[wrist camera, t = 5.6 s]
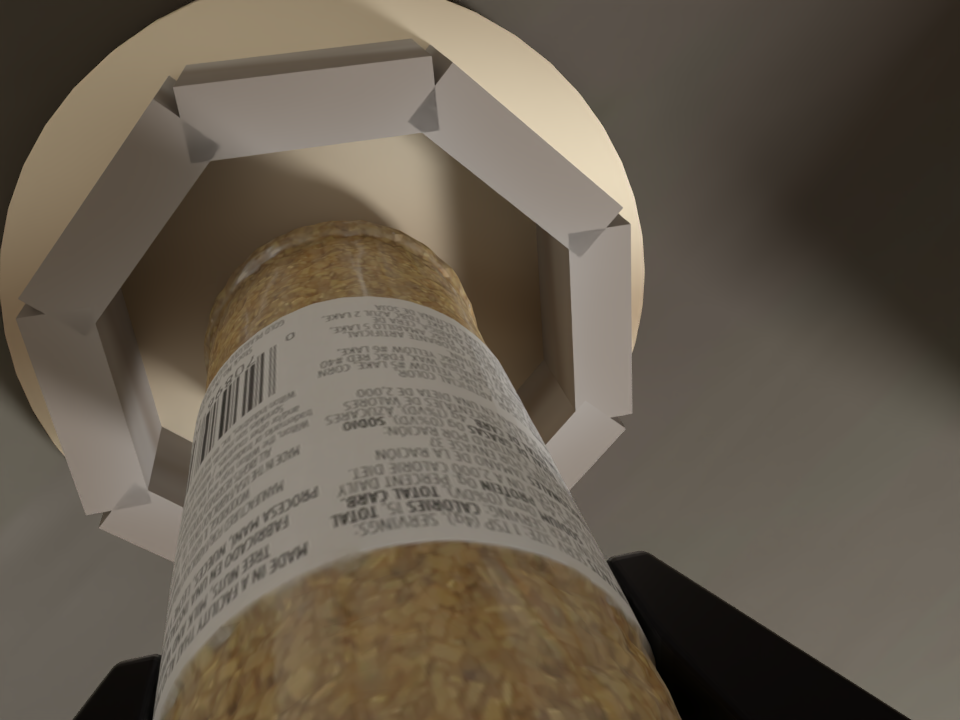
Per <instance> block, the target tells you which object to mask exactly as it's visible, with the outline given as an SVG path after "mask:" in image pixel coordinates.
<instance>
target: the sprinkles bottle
mask: <svg viewBox="0 0 960 720" xmlns="http://www.w3.org/2000/svg"><path fill="white" fill-rule="evenodd" d="M204 356H205V366H206V373H207V381H206V393H205V396H204V398H203V400H202V403H201V406H200V409H199V413H198V416H197V420H196V426H195V432H194V437H193V443H192V450H191V458H190V465H189V473H188V480H187V487H186V493H185V499H184V506H183V512H182V519H181V525H180V530H179V536H178V542H177V548H176V555H175V561H174V568H173V574H172V581H171V587H170V594H169V602H168V610H167V619H166V627H165V635H164V642H163V650H162V656H161V663H160V670H159V677H158V684H157V691H156V698H155V706H154V713H153V720H682V719H681V717H680V715H679V713H678V711H677V708H676V706H675V704H674V701H673V699H672V697H671V694H670V692H669V690H668V689H667V687H666V685H665V683H664V682H663V680H662V678H661V677H660V675H659V673H658V671H657V670H656V661H655V658H654V655H653V652H652V649H651V646H650V644H649V642H648V640H647V638H646V636H645V634H644V632H643V630H642V628H641V626H640V624H639V622H638V620H637V618H636V617H635V615H634V613H633V611H632V609H631V607H630V605H629V603H628V601H627V599H626V597H625V595H624V593H623V591H622V590H621V588H620V586H619V584H618V582H617V580H616V578H615V576H614V575H613V573H612V571H611V569H610V567H609V565H608V563H607V561H606V560H605V558H604V556H603V554H602V552H601V550H600V548H599V546H598V545H597V543H596V541H595V539H594V537H593V535H592V533H591V532H590V530H589V528H588V526H587V524H586V522H585V520H584V518H583V517H582V515H581V513H580V511H579V509H578V507H577V505H576V503H575V501H574V500H573V498H572V496H571V494H570V492H569V490H568V488H567V486H566V484H565V482H564V480H563V479H562V477H561V475H560V473H559V471H558V469H557V467H556V465H555V463H554V461H553V459H552V457H551V455H550V453H549V452H548V450H547V448H546V446H545V444H544V442H543V440H542V438H541V436H540V434H539V432H538V431H537V429H536V427H535V426H534V424H533V422H532V420H531V419H530V417H529V415H528V413H527V411H526V409H525V407H524V405H523V403H522V402H521V400H520V398H519V396H518V394H517V393H516V391H515V389H514V387H513V385H512V383H511V382H510V380H509V378H508V376H507V374H506V373H505V371H504V369H503V367H502V366H501V364H500V362H499V361H498V359H497V358H496V357H495V356H494V354H493V353H492V352H491V351H490V349H489V348H488V347H487V345H486V344H485V342H484V340H483V338H482V336H481V334H480V332H479V330H478V327H477V322H476V318H475V315H474V312H473V308H472V304H471V302H470V301H469V299H468V297H467V295H466V293H465V291H464V289H463V287H462V284H461V282H460V280H459V278H458V276H457V275H456V273H455V272H454V270H453V269H452V268H451V267H450V266H449V265H448V264H447V263H446V262H444V261H443V260H442V259H440V258H439V257H438V256H437V255H436V254H435V253H434V252H433V251H432V250H431V249H430V248H429V247H428V246H426V245H425V244H423V243H421V242H419V241H417V240H416V239H414V238H412V237H410V236H409V235H407V234H405V233H404V232H402V231H400V230H397V229H393V228H390V227H387V226H382V225H378V224H374V223H371V222H367V221H364V220H354V221H328V222H322V223H318V224H315V225H310V226H303V227H300V228H297V229H294V230H292V231H290V232H288V233H287V234H284V235H281V236H279V237H276V238H274V239H272V240H271V241H269V242H267V243H266V244H264V245H262V246H261V247H259V248H257V249H256V250H255V251H254V252H253V253H252V254H251V255H249V257H248V258H247V260H246V261H245V262H244V263H243V264H241V265H240V266H239V267H238V268H237V269H236V270H235V271H234V272H233V273H232V275H231V276H230V278H229V280H228V282H227V284H226V286H225V287H224V288H223V290H222V291H221V292H220V293H219V294H218V296H217V297H216V299H215V302H214V305H213V307H212V310H211V312H210V316H209V323H208V327H207V331H206V335H205V341H204Z"/></svg>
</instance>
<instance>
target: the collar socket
mask: <svg viewBox="0 0 960 720" xmlns="http://www.w3.org/2000/svg"><path fill="white" fill-rule="evenodd" d="M354 220H364V221H367V222H371V223H374V224H378V225H382V226H387V227H390V228H393V229H397V230H400V231H402V232H404V233H405V234H407V235H409V236H410V237H412V238H414V239H416V240H417V241H419V242H421V243H423V244H425V245H426V246H428V247H429V248H430V249H431V250H432V251H433V252H434V253H435V254H436V255H437V256H438V257H439V258H440V259H442V260H443V261H444V262H446V263H447V264H448V265H449V266H450V267H451V268H452V269H453V270H454V272H455V273H456V275H457V276H458V278H459V280H460V282H461V284H462V287H463V289H464V291H465V293H466V295H467V297H468V299H469V301H470V302H471V304H472V308H473V312H474V315H475V318H476V322H477V327H478V330H479V332H480V334H481V336H482V338H483V340H484V342H485V344H486V345H487V347H488V348H489V349H490V351H491V352H492V353H493V354H494V356H495V357H496V358H497V359H498V361H499V362H500V364H501V366H502V367H503V369H504V371H505V373H506V374H507V376H508V378H509V380H510V382H511V383H512V385H513V387H514V389H515V391H516V393H517V394H518V396H519V398H520V400H521V402H522V403H523V405H524V407H525V409H526V411H527V413H528V415H529V417H530V419H531V420H532V422H533V424H534V426H535V427H536V429H537V431H538V432H539V434H540V436H541V438H542V440H543V442H544V444H545V446H546V448H547V450H548V452H549V453H550V455H551V457H552V459H553V461H554V463H555V465H556V467H557V469H558V471H559V473H560V475H561V477H562V479H563V480H564V482H565V484H566V486H567V488H568V490H570V489H571V488H572V487H573V486H574V485H575V484H576V483H577V481H578V480H579V479H580V478H581V477H582V476H583V475H584V474H585V473H586V472H587V471H588V469H589V468H590V467H591V466H592V465H593V464H594V463H595V462H596V461H597V460H598V459H599V457H600V456H601V455H602V454H603V453H604V452H605V451H606V450H607V449H608V448H609V447H610V445H611V444H612V443H613V442H614V441H615V440H616V439H617V438H618V437H619V436H620V435H621V433H622V432H623V431H624V430H625V429H626V428H625V427H624V425H623V424H622V422H621V421H620V420H619V418H618V417H617V416H622V415H627V414H632V351H633V348H634V345H635V342H636V337H637V332H638V327H639V322H640V316H641V311H642V304H643V289H644V274H645V270H644V255H643V240H642V232H641V227H640V222H639V217H638V212H637V207H636V203H635V198H634V195H633V192H632V189H631V187H630V184H629V181H628V178H627V175H626V173H625V170H624V167H623V164H622V162H621V160H620V158H619V156H618V154H617V152H616V150H615V148H614V146H613V144H612V142H611V140H610V139H609V137H608V135H607V133H606V131H605V129H604V127H603V126H602V124H601V123H600V121H599V120H598V119H597V117H596V116H595V114H594V113H593V112H592V110H591V109H590V107H589V106H588V105H587V103H586V102H585V100H584V99H583V98H582V96H581V95H580V94H579V92H578V91H577V90H576V89H575V88H574V87H573V86H572V85H571V84H570V83H569V82H568V81H567V80H566V79H565V78H564V77H563V76H562V75H561V74H560V73H559V72H558V70H557V69H556V68H555V67H554V66H553V65H552V64H551V63H550V62H549V61H547V60H546V59H545V58H543V57H542V56H541V55H540V54H538V53H537V52H536V51H535V50H533V49H532V48H531V47H529V46H528V45H527V44H526V43H524V42H523V41H522V40H521V39H519V38H518V37H517V36H515V35H514V34H512V33H510V32H509V31H507V30H505V29H503V28H502V27H500V26H498V25H497V24H495V23H493V22H491V21H490V20H488V19H486V18H484V17H483V16H481V15H479V14H478V13H476V12H473V11H471V10H469V9H467V8H465V7H462V6H460V5H457V4H455V3H452V2H450V1H448V0H195V1H193V2H191V3H189V4H187V5H185V6H183V7H181V8H179V9H177V10H175V11H173V12H171V13H169V14H167V15H165V16H163V17H161V18H159V19H157V20H155V21H154V22H153V23H151V24H150V25H148V26H147V27H146V28H144V29H143V30H141V31H140V32H138V33H137V34H136V35H134V36H133V37H131V38H130V39H128V40H127V41H126V42H124V43H123V44H121V45H120V46H119V47H117V48H116V49H115V50H114V51H112V52H111V53H110V54H109V55H108V56H107V57H106V58H105V59H103V60H102V61H101V62H100V63H99V64H98V65H97V66H96V67H95V68H94V69H93V70H92V71H91V72H90V73H89V74H88V75H87V76H86V77H85V78H84V79H83V80H82V81H81V82H79V83H78V84H77V85H76V86H75V87H74V88H73V90H72V91H71V92H70V94H69V95H68V96H67V97H66V99H65V100H64V101H63V103H62V104H61V105H60V107H59V108H58V109H57V111H56V112H55V113H54V114H53V116H52V117H51V118H50V120H49V121H48V122H47V124H46V125H45V127H44V128H43V130H42V132H41V134H40V136H39V138H38V139H37V141H36V143H35V145H34V147H33V149H32V151H31V152H30V154H29V156H28V158H27V160H26V162H25V163H24V165H23V168H22V171H21V174H20V176H19V179H18V182H17V185H16V188H15V191H14V193H13V196H12V199H11V202H10V205H9V208H8V213H7V218H6V224H5V229H4V235H3V240H2V245H1V253H0V301H1V308H2V316H3V324H4V332H5V337H6V340H7V344H8V347H9V350H10V354H11V357H12V361H13V364H14V368H15V371H16V374H17V377H18V379H19V381H20V383H21V385H22V388H23V390H24V392H25V394H26V396H27V399H28V401H29V403H30V405H31V407H32V410H33V411H34V413H35V415H36V416H37V418H38V419H39V421H40V422H41V424H42V426H43V427H44V429H45V430H46V432H47V433H48V435H49V437H50V438H51V440H52V441H53V443H54V444H55V445H56V447H57V448H58V449H59V450H60V451H61V452H62V454H63V455H64V456H65V458H66V461H67V463H68V466H69V469H70V472H71V475H72V477H73V480H74V483H75V486H76V489H77V491H78V494H79V497H80V500H81V502H82V505H83V508H84V511H85V514H86V515H91V514H96V513H101V512H103V515H102V519H101V522H100V526H99V528H100V529H102V530H104V531H106V532H108V533H111V534H113V535H115V536H117V537H119V538H122V539H124V540H126V541H128V542H130V543H133V544H135V545H137V546H139V547H141V548H144V549H146V550H148V551H150V552H152V553H154V554H157V555H159V556H161V557H163V558H165V559H168V560H170V561H172V562H174V561H175V555H176V548H177V542H178V536H179V530H180V525H181V519H182V512H183V506H184V499H185V493H186V487H187V480H188V473H189V465H190V458H191V450H192V443H193V437H194V432H195V426H196V420H197V416H198V413H199V409H200V406H201V403H202V400H203V398H204V396H205V393H206V381H207V373H206V366H205V356H204V341H205V335H206V331H207V327H208V323H209V316H210V312H211V310H212V307H213V305H214V302H215V299H216V297H217V296H218V294H219V293H220V292H221V291H222V290H223V288H224V287H225V286H226V284H227V282H228V280H229V278H230V276H231V275H232V273H233V272H234V271H235V270H236V269H237V268H238V267H239V266H240V265H241V264H243V263H244V262H245V261H246V260H247V258H248V257H249V255H251V254H252V253H253V252H254V251H255V250H256V249H257V248H259V247H261V246H262V245H264V244H266V243H267V242H269V241H271V240H272V239H274V238H276V237H279V236H281V235H284V234H287V233H288V232H290V231H292V230H294V229H297V228H300V227H303V226H310V225H315V224H318V223H322V222H328V221H354Z"/></svg>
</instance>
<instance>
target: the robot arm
mask: <svg viewBox="0 0 960 720" xmlns="http://www.w3.org/2000/svg"><path fill="white" fill-rule="evenodd" d="M607 563H608V565H609V567H610V569H611V571H612V573H613V575H614V576H615V578H616V580H617V582H618V584H619V586H620V588H621V590H622V591H623V593H624V595H625V597H626V599H627V601H628V603H629V605H630V607H631V609H632V611H633V613H634V615H635V617H636V618H637V620H638V622H639V624H640V626H641V628H642V630H643V632H644V634H645V636H646V638H647V640H648V642H649V644H650V646H651V649H652V652H653V655H654V658H655V661H656V670H657V671H658V673H659V675H660V677H661V678H662V680H663V682H664V683H665V685H666V687H667V689H668V690H669V692H670V694H671V697H672V699H673V701H674V704H675V706H676V708H677V711H678V713H679V715H680V717H681V719H682V720H911V719H909V718H908V717H906V716H905V715H903V714H901V713H900V712H898V711H897V710H895V709H894V708H892V707H890V706H889V705H887V704H886V703H884V702H883V701H881V700H879V699H878V698H876V697H875V696H873V695H872V694H870V693H868V692H867V691H865V690H864V689H862V688H861V687H859V686H857V685H856V684H854V683H853V682H851V681H850V680H848V679H846V678H845V677H843V676H842V675H840V674H839V673H837V672H835V671H834V670H832V669H831V668H829V667H828V666H826V665H824V664H823V663H821V662H820V661H818V660H817V659H815V658H813V657H812V656H810V655H809V654H807V653H805V652H804V651H802V650H801V649H799V648H798V647H796V646H794V645H793V644H791V643H790V642H788V641H787V640H785V639H783V638H782V637H780V636H779V635H777V634H776V633H774V632H772V631H771V630H769V629H768V628H766V627H765V626H763V625H761V624H760V623H758V622H757V621H755V620H754V619H752V618H750V617H749V616H747V615H746V614H744V613H743V612H741V611H739V610H738V609H736V608H735V607H733V606H732V605H730V604H728V603H727V602H725V601H724V600H722V599H721V598H719V597H717V596H716V595H714V594H713V593H711V592H710V591H708V590H706V589H705V588H703V587H702V586H700V585H699V584H697V583H695V582H694V581H692V580H691V579H689V578H688V577H686V576H684V575H683V574H681V573H680V572H678V571H677V570H675V569H673V568H672V567H670V566H669V565H667V564H666V563H664V562H662V561H661V560H659V559H658V558H656V557H655V556H653V555H651V554H650V553H647V552H644V551H637V552H632V553H627V554H623V555H618V556H613V557H611V558H609V559H608V560H607ZM160 663H161V655H158V654H153V655H148V656H143V657H139V658H134V659H129V660H125V661H122V662H119V663H118V664H116V665H115V666H114V667H113V668H112V669H111V670H110V672H109V673H108V674H107V676H106V677H105V678H104V680H103V681H102V682H101V683H100V685H99V686H98V687H97V689H96V690H95V691H94V693H93V694H92V695H91V696H90V698H89V699H88V700H87V702H86V703H85V704H84V706H83V707H82V708H81V709H80V711H79V712H78V713H77V715H76V716H75V717H74V718H73V720H153V713H154V706H155V698H156V691H157V684H158V677H159V670H160Z"/></svg>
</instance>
